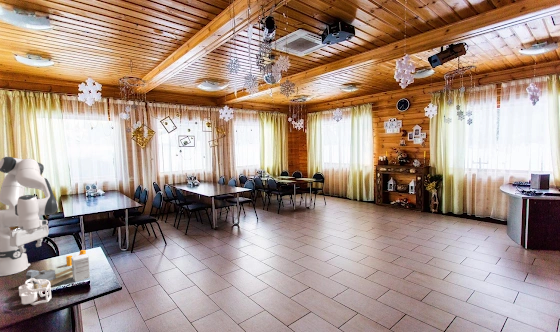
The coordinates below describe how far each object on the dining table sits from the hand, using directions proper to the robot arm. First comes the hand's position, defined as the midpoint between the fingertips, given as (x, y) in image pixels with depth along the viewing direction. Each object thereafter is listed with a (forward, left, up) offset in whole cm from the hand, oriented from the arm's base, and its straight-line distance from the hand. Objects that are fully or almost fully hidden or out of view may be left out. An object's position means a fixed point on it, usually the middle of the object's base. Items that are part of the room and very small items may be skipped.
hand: (31, 249), depth 153 cm
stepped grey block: (0, 0, -20) cm, 20 cm away
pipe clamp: (-8, +29, -20) cm, 36 cm away
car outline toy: (+18, -10, -20) cm, 29 cm away
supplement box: (+19, +13, -20) cm, 30 cm away
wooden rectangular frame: (+8, +7, -20) cm, 23 cm away
